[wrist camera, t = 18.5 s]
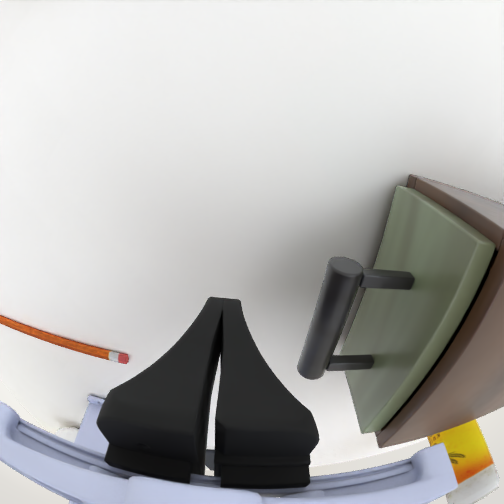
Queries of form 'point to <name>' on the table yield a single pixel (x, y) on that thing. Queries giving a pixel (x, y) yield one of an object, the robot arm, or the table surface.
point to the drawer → (398, 306)
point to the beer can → (468, 462)
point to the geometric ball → (67, 433)
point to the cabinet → (461, 337)
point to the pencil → (66, 342)
